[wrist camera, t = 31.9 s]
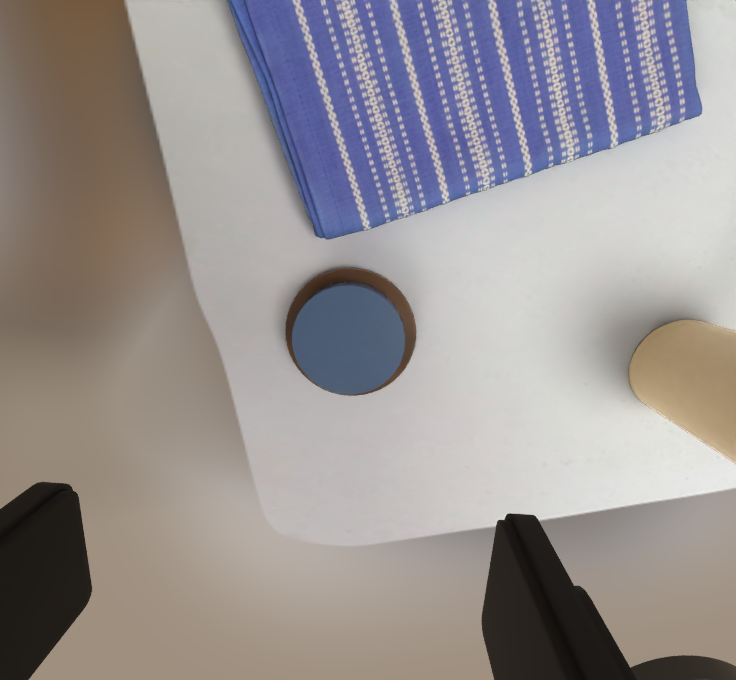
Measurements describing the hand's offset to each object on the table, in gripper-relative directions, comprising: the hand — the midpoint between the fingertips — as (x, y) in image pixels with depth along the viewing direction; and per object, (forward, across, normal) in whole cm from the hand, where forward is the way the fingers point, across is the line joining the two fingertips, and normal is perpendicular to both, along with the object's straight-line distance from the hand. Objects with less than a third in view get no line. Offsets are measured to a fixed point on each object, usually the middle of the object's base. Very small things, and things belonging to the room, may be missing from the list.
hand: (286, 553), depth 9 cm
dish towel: (+20, -6, -18) cm, 28 cm away
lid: (+18, 0, 0) cm, 18 cm away
